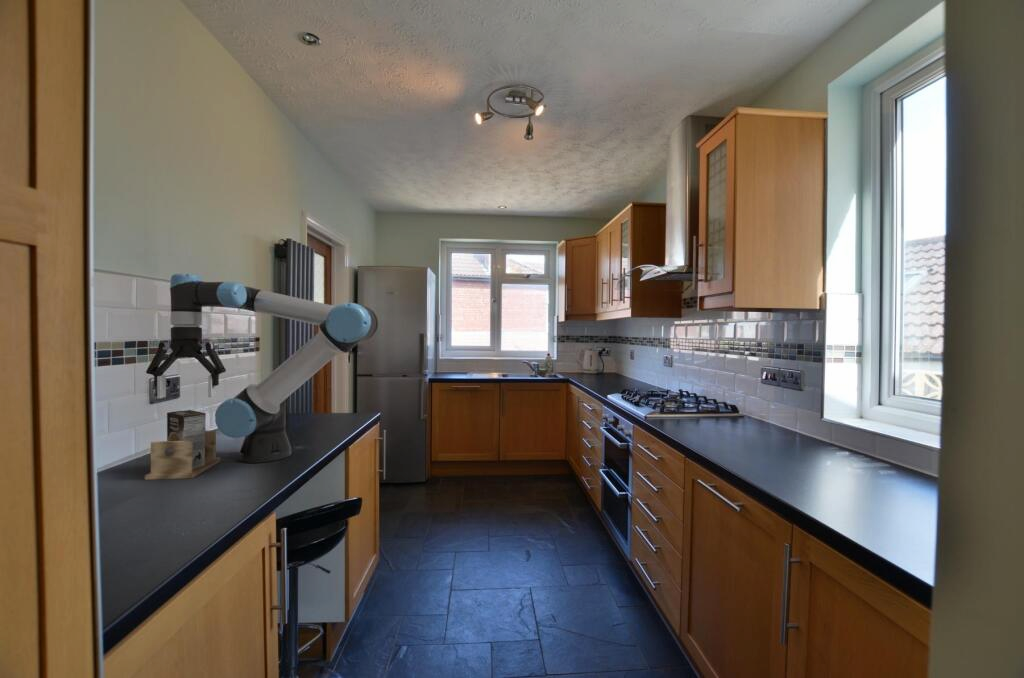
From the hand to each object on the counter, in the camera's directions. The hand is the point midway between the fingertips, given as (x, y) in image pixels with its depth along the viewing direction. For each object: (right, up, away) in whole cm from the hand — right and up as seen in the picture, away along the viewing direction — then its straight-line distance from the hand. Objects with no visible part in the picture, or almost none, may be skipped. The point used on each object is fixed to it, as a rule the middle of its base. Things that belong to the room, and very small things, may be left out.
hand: (187, 397), depth 130 cm
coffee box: (-1, -21, 0) cm, 21 cm away
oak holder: (-1, -22, 0) cm, 22 cm away
